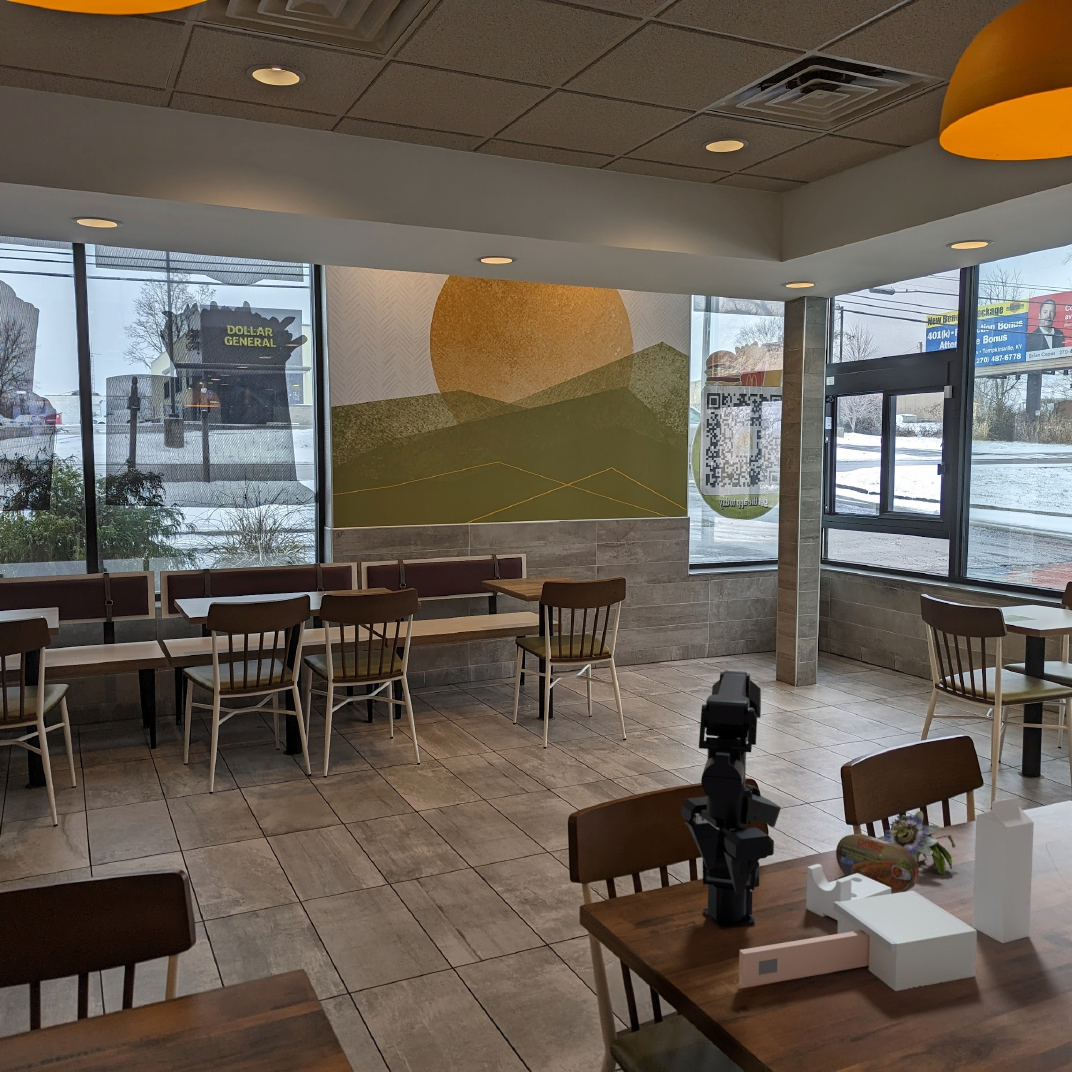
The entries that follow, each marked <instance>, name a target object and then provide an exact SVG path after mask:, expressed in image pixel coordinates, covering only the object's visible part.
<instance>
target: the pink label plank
mask: <svg viewBox="0 0 1072 1072" xmlns="http://www.w3.org/2000/svg"><path fill="white" fill-rule="evenodd" d="M869 941H870V936H869V935H868V934H866V933H865V932H864V931H862V930H859V931H853V932H847V933H841V934H837V933H836V934H830V935H823V936H818V937H817V936H816V937H811V938H805V939H798V940H794V941H793V940H792V941H787V942H781V943H773V944H767V945H761V946H755V947H750V948H744V949H739V956H738V957H739V958H738V959H739V960H738V963H739V967H738V984H739V985H740V986H741V987H742V989H743V988H749V987H753V986H761V985H766V984H771V983H777V982H782V981H784V982H785V981H788V980H789V981H790V980H795V979H800V978H806V977H810V976H811V977H812V976H816V975H817V976H818V975H823V974H829V973H834V972H841V971H845V970H851V969H858V968H862V967H867V966H868V967H869Z"/></svg>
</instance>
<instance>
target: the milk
mask: <svg viewBox="0 0 1072 1072" xmlns="http://www.w3.org/2000/svg"><path fill="white" fill-rule="evenodd" d="M1019 804H1020V799H1019V797H1018V796H1016V797H1010V798H1006V799H1000V800H995V801H992V803H991V810H990V811H987V812H982V813H980V814H977V815H976V818H975V819H976V820H975V845H974V846H975V847H974V850H975V851H974V875H973V897H972V898H973V900H972V926H971V927H972V928H974V929H975V930H977V932H978V931H979V932H980V933H982V934H984V935H986V936H988V937H990V938H991V939H994V940H995V941H998V942H999V943H1001V944H1006V943H1010V942H1014V941H1017V940H1021V939H1024V938H1028V937H1030V925H1031V921H1030V919H1031V896H1032V876H1033V875H1032V871H1033V847H1034V821H1033V820H1032V819H1031V818H1030V817H1029V815H1028V814H1027V813H1026V812H1025V811H1024V810H1023V809H1022V808H1021V807H1020V806H1019Z"/></svg>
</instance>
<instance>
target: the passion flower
mask: <svg viewBox="0 0 1072 1072" xmlns="http://www.w3.org/2000/svg"><path fill="white" fill-rule="evenodd" d="M896 817H897V819H894V821H891V822H892V823H889V826H891V827H890V829H888V830H885V832H884V834H883V835H882V836H879V837H877V839H880V840H884V841H887V842H890V843H894V844H897V845H900V846H902V847H904V848H906V849H907V850H908V851H909V852H910V853H911V854H912V855H913V857H914V858H915V860H916V862H917V865H918V863H919V860H920V859H919V858H920V855H923V857H924V858H925V859H926V858H927V857H932V860H933V862H934V864H935V868H936V870H937V871H938V873H939V874H941V875H942V874H944V875H945V874H946V871H947V870H946V862H947V864H948V866H949V869H950V870H952V869H953V860H952V856H951V854H950V852H949V851H948V850H947V849H946V848H945V847H944V846H942V845H941V844H940V842H938V840H937V839H941V838H946V837H947V839H949V841H950V842H951V848H956V843H955V841H954V839H953V838H952V834H949V835H944V836H943V835H942V836H938V837H933V836H932V835H933V834H935V833H937V832H938V831H939V830H940V826H939V825H938V824H930V825H928V824H924V813H923V811H922V810H920V811H917V812H916V813H915V814H914V815H912V814H910V815H907V816H906V815H905V814H903V815H901V816H900V815H896Z"/></svg>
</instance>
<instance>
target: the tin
mask: <svg viewBox="0 0 1072 1072" xmlns="http://www.w3.org/2000/svg"><path fill="white" fill-rule="evenodd" d="M877 838H878V837H877ZM877 838H876V837H873V836H870V835H866V834H863V833H853V834H848V835H846V836H843V837H842V838H841V839H840V840H839V841H838V844H837V845H836V850H835V855H836V856H835V857H836V858H835V859H836V862H837V864H838V866H839V868H840V870H841V872H842V873H843V874H844V875H845V877H847V876H850V875H853V874H856V873H859V874H861V875H863V876H866V877H868V878H870V879H872V880H875V881H877V882H879V883H881V884H884V885H886V886H888V887H890V888H891V894H893V893H900V892H907V891H911V889H912V888H914V887H915V885H916V884H917V882H918V878H919V867H918V864H917V862H916V860H915V858H914V857H913V855H912V854H911V853H910V852H909V851H908V850H907V849H906V848H904V847H902V846H900V845H897V844H894V843H890V842H887V841H884V840H880V839H877Z"/></svg>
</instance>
